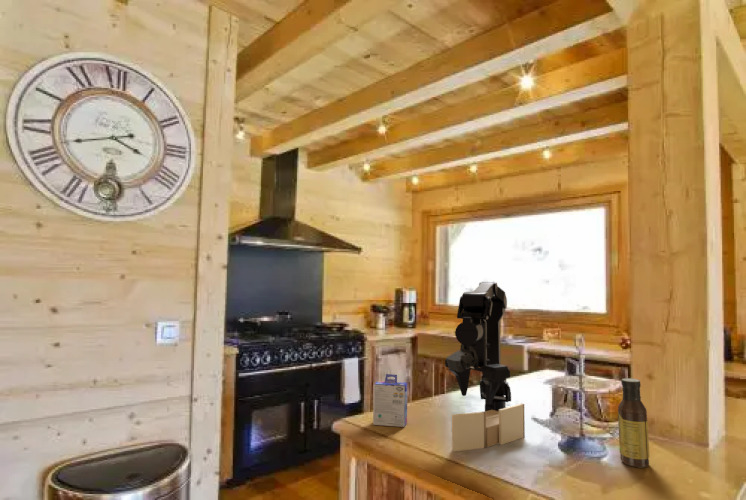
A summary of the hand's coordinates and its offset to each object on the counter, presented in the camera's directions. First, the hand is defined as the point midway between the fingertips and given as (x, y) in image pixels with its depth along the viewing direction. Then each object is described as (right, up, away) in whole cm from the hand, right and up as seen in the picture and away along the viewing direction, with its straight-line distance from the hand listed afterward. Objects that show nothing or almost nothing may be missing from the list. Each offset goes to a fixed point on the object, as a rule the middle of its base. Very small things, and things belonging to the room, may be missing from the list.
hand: (476, 399), depth 119 cm
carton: (+6, -13, +9) cm, 17 cm away
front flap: (-2, -12, -1) cm, 13 cm away
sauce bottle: (+36, -12, -10) cm, 39 cm away
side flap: (+11, -13, +5) cm, 18 cm away
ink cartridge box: (-22, -14, +19) cm, 32 cm away
